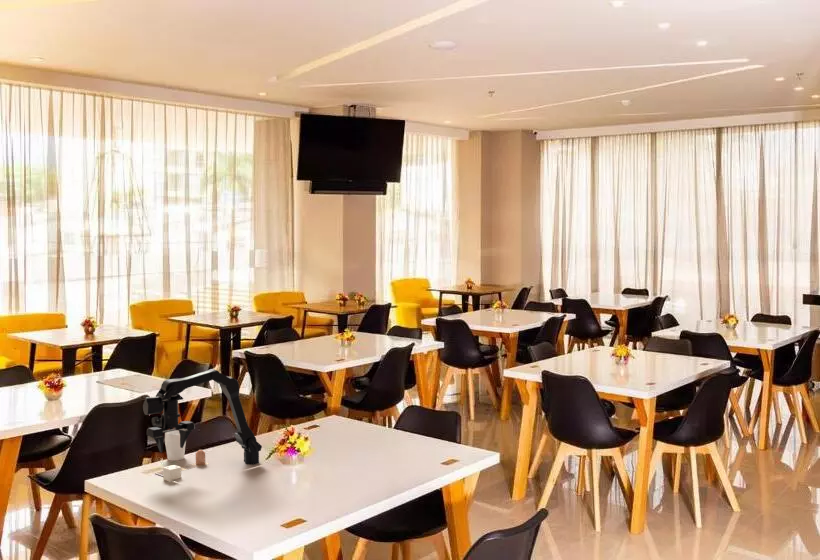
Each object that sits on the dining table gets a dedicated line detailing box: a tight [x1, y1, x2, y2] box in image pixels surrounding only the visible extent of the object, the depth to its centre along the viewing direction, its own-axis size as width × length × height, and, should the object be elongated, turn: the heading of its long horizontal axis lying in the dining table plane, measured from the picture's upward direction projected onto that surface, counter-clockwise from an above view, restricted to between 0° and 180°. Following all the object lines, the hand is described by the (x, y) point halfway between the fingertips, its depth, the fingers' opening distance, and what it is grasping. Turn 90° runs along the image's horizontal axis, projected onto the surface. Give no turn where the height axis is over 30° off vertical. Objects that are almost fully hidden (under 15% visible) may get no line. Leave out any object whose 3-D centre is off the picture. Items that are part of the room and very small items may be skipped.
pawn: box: [195, 449, 206, 466], centre depth 345 cm, size 4×4×6 cm
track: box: [154, 461, 210, 478], centre depth 339 cm, size 23×6×1 cm, turn 138°
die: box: [162, 464, 182, 483], centre depth 326 cm, size 5×5×5 cm
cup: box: [164, 430, 187, 462], centre depth 353 cm, size 9×9×12 cm
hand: (171, 450), depth 325 cm, fingers open, 9 cm apart
